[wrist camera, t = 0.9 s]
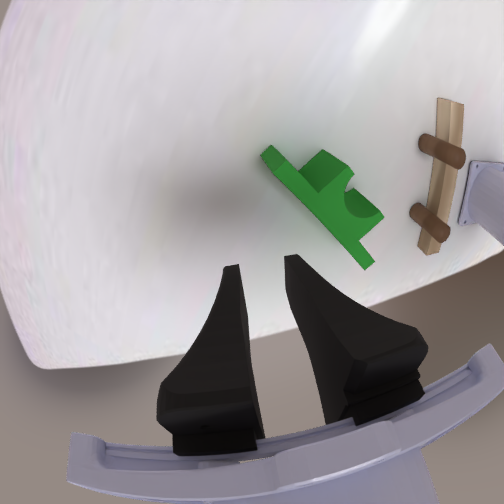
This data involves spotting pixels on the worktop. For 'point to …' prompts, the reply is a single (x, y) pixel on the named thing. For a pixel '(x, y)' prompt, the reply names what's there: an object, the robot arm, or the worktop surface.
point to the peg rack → (440, 175)
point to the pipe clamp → (329, 198)
